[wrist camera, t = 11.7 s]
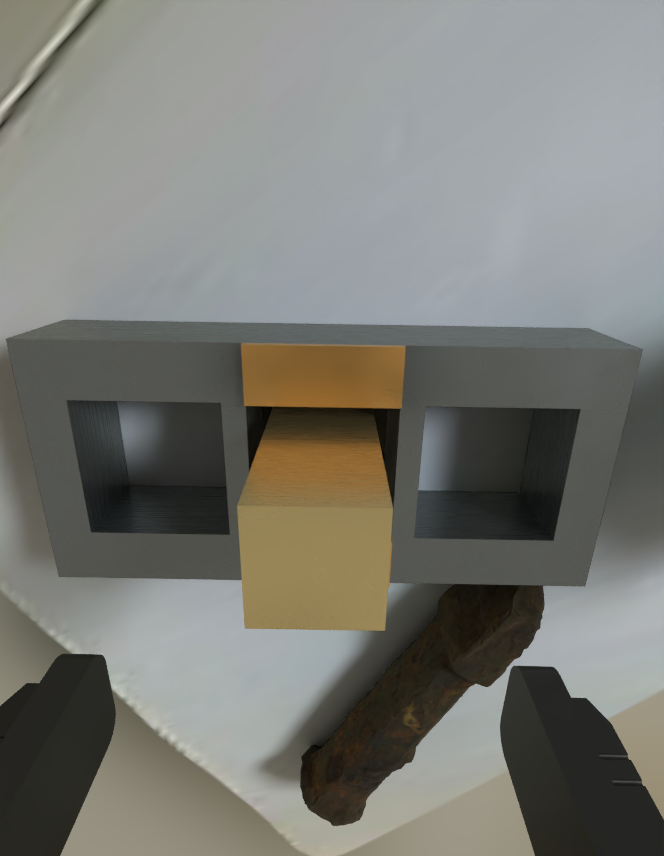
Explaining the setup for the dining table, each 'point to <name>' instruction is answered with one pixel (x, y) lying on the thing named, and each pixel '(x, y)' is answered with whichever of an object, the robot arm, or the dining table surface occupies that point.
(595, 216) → the dining table surface
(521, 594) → the dark brown rough bar
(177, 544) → the grey slotted holder
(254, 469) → the post
